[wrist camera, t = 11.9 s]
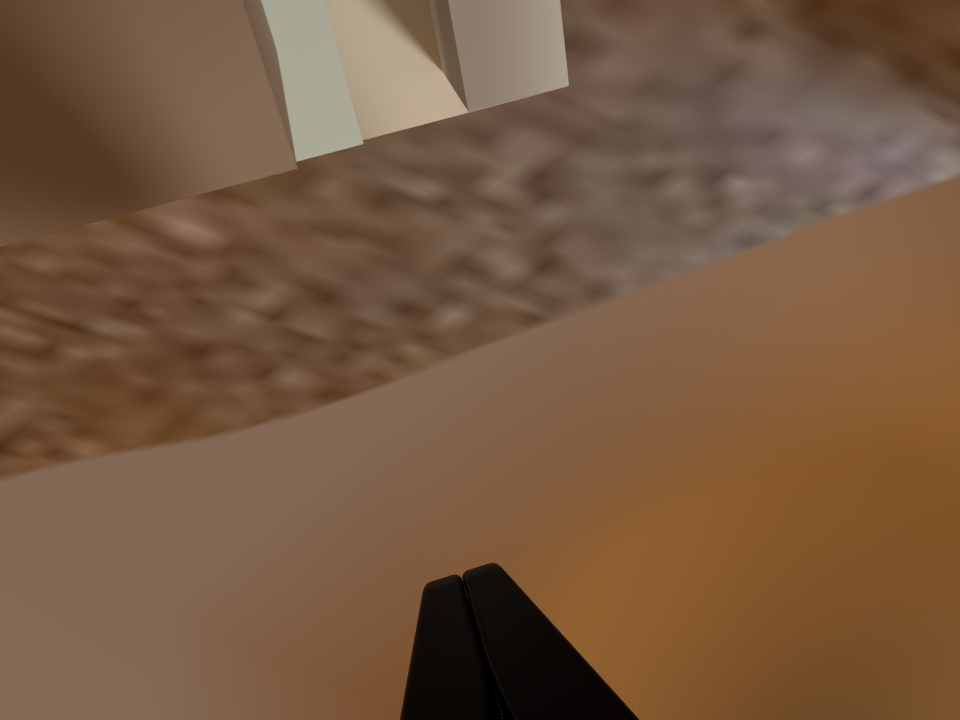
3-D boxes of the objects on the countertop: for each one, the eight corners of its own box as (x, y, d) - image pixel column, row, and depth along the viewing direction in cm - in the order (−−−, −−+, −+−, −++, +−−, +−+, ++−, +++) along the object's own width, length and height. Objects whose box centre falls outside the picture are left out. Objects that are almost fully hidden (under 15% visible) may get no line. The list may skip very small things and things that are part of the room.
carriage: (231, -333, 13) (239, -376, 7) (353, 115, 17) (410, 280, 12) (-258, -232, 12) (-611, -203, 7) (-1, 206, 16) (-101, 422, 11)
